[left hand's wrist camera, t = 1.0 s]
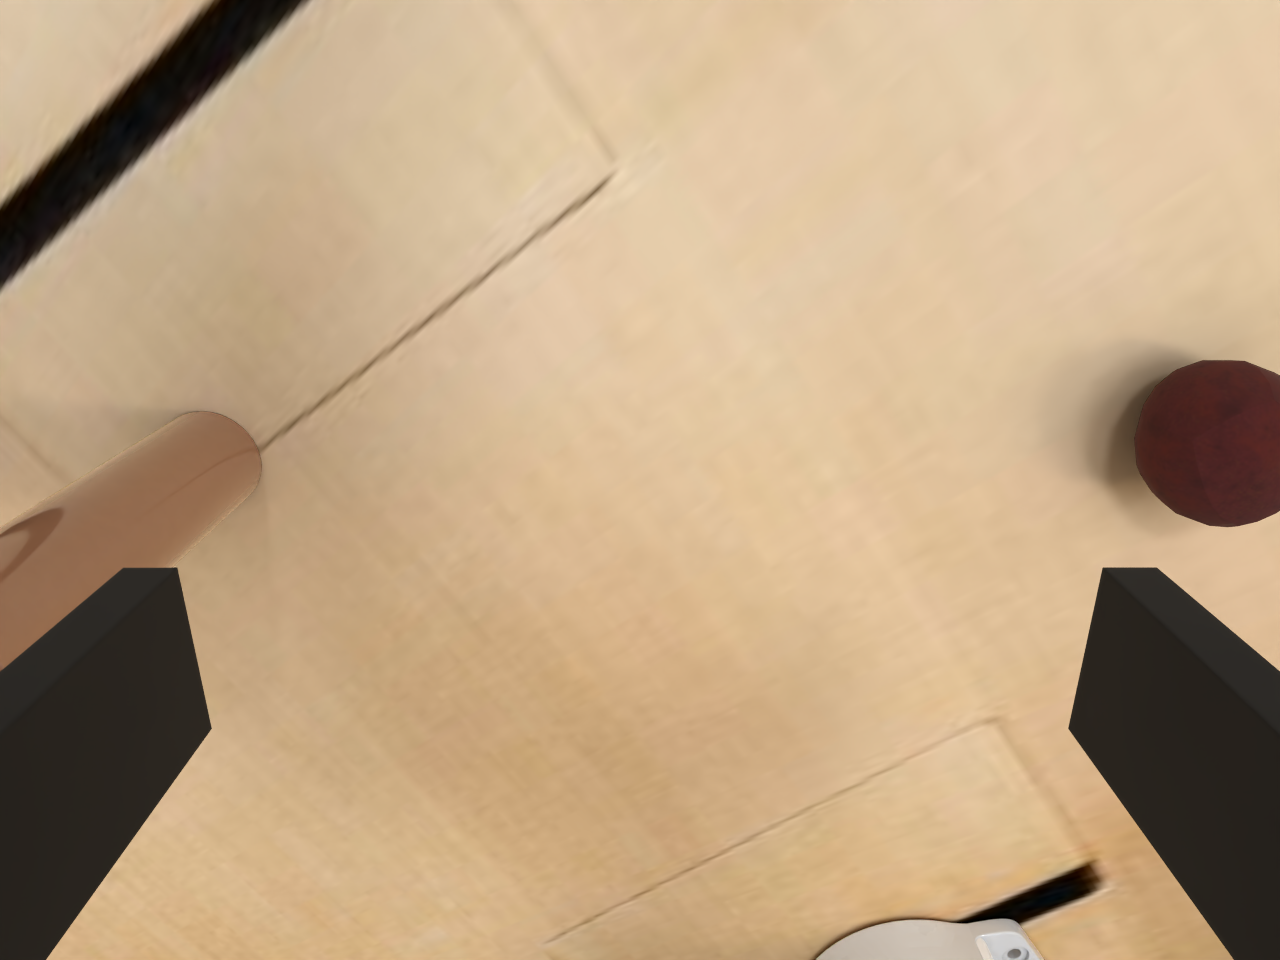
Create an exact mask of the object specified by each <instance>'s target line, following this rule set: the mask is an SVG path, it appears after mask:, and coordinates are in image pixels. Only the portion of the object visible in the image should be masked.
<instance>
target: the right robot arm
mask: <svg viewBox="0 0 1280 960" xmlns="http://www.w3.org/2000/svg"><path fill="white" fill-rule="evenodd" d="M816 960H1045V959H1044V958H1043V957H1042V955H1041V954H1040V952H1039V951H1038V950H1037V948H1036V947H1035V946H1034V944H1033V943H1032V941H1031V940H1030V939H1029V937H1028V936H1027V934H1026V933H1025V932H1024V930H1023V929H1022V928H1021V926H1020V925H1019V924H1018V923H1017V922H1015V921H1013V920H1011V919H992V920H985V921H978V922H973V923H968V924H959V923H949V922H942V921H934V920H901V921H894V922H888V923H883V924H879V925H875V926H872V927H868V928H866V929H863V930H860V931H858V932H855V933H853V934H851V935H849V936H847V937H845V938H843V939H842V940H840V941H838V942H837V943H835V944H834V945H832V946H831V947H829V948H828V949H827V950H825V951H824V952H823V953H822V954H821V955H820V956H819V957H818V958H817V959H816Z"/></svg>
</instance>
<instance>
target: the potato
mask: <svg viewBox="0 0 1280 960" xmlns="http://www.w3.org/2000/svg"><path fill="white" fill-rule="evenodd" d="M1134 441H1135V452H1136V463H1137V467H1138V469H1139V472H1140V474H1141V476H1142V477H1143V479H1144V481H1145V482H1146V484H1147V485H1148V487H1149V488H1150V490H1151V491H1152V492H1153V493H1154V494H1155V495H1156V496H1157V497H1158V498H1159V499H1160V500H1161V501H1162V502H1163V503H1164V504H1165V505H1167V506H1168V507H1169V508H1170V509H1171V510H1173V511H1174V512H1175V513H1177V514H1179V515H1182V516H1185V517H1187V518H1190V519H1193V520H1195V521H1198V522H1201V523H1203V524H1206V525H1209V526H1220V527H1234V526H1241V525H1245V524H1249V523H1253V522H1257V521H1260V520H1262V519H1264V518H1266V517H1269V516H1271V515H1273V514H1275V513H1277V512H1279V511H1280V375H1278V374H1276V373H1274V372H1271V371H1269V370H1266V369H1264V368H1261V367H1259V366H1256V365H1254V364H1251V363H1248V362H1246V361H1233V360H1202V361H1199V362H1197V363H1194V364H1191V365H1188V366H1185V367H1182V368H1180V369H1177V370H1175V371H1174V372H1172V373H1171V374H1170V375H1169V376H1167V377H1166V378H1165V379H1164V380H1163V381H1161V382H1160V383H1159V384H1158V385H1157V386H1155V388H1154V389H1153V391H1152V393H1151V394H1150V396H1149V397H1148V399H1147V400H1146V402H1145V403H1144V405H1143V409H1142V412H1141V416H1140V419H1139V423H1138V427H1137V430H1136V434H1135V438H1134Z"/></svg>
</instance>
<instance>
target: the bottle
mask: <svg viewBox="0 0 1280 960" xmlns="http://www.w3.org/2000/svg"><path fill="white" fill-rule="evenodd" d="M260 476H261V458H260V454H259V451H258V449H257V446H256V445H255V443H254V441H253V439H252V438H251V437H250V435H249V434H248V433H247V432H246V431H245V430H244V429H243V428H242V427H241V426H240V425H238V424H237V423H236V422H234V421H232V420H231V419H229V418H227V417H225V416H222V415H219V414H216V413H211V412H191V413H187V414H184V415H181V416H179V417H178V418H176V419H174V420H173V421H171V422H169V423H168V424H166V425H165V426H163V427H161V428H160V429H158V430H156V431H155V432H153V433H152V434H150V435H148V436H147V437H145V438H144V439H142V440H140V441H139V442H137V443H135V444H134V445H132V446H131V447H129V448H127V449H126V450H124V451H123V452H121V453H119V454H118V455H116V456H114V457H113V458H111V459H110V460H108V461H106V462H105V463H103V464H102V465H100V466H98V467H97V468H95V469H93V470H92V471H90V472H89V473H87V474H85V475H84V476H82V477H81V478H79V479H77V480H76V481H74V482H72V483H71V484H69V485H68V486H66V487H64V488H63V489H61V490H60V491H58V492H56V493H55V494H53V495H51V496H50V497H48V498H47V499H45V500H43V501H42V502H40V503H39V504H37V505H35V506H34V507H32V508H30V509H29V510H27V511H26V512H24V513H22V514H21V515H19V516H18V517H16V518H14V519H13V520H11V521H9V522H8V523H6V524H5V525H3V526H1V527H0V671H1V670H3V669H4V668H5V667H6V666H7V665H9V664H10V663H11V662H12V661H13V660H14V659H16V658H17V657H18V656H19V655H20V654H22V653H23V652H24V651H25V650H26V649H27V648H29V647H30V646H31V645H32V644H33V643H35V642H36V641H37V640H38V639H39V638H41V637H42V636H43V635H44V634H45V633H46V632H48V631H49V630H50V629H51V628H52V627H54V626H55V625H56V624H57V623H58V622H59V621H61V620H62V619H63V618H64V617H65V616H67V615H68V614H69V613H70V612H71V611H72V610H74V609H75V608H76V607H77V606H78V605H80V604H81V603H82V602H83V601H84V600H85V599H87V598H88V597H89V596H90V595H91V594H93V593H94V592H95V591H96V590H97V589H99V588H100V587H101V586H102V585H103V584H104V583H106V582H107V581H108V580H109V579H110V578H112V577H113V576H114V575H115V574H116V573H117V572H119V571H120V570H121V569H122V568H172V567H173V566H174V565H175V564H176V563H177V562H179V561H180V560H181V559H182V558H183V557H184V556H185V555H186V554H187V553H188V552H189V551H190V550H191V549H192V548H194V547H195V546H196V545H197V544H198V543H199V542H200V541H201V540H202V539H203V538H204V537H205V536H206V535H208V534H209V533H210V532H211V531H212V530H213V529H214V528H215V527H216V526H217V525H218V524H219V523H220V522H221V521H223V520H224V519H225V518H226V517H227V516H228V515H229V514H230V513H231V512H232V511H233V510H234V509H235V508H236V507H238V506H239V505H240V504H241V503H242V502H243V501H244V500H245V499H246V498H247V497H248V496H249V495H250V494H251V493H252V492H253V491H254V490H255V488H256V486H257V484H258V482H259V479H260Z"/></svg>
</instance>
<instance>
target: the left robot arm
mask: <svg viewBox="0 0 1280 960" xmlns="http://www.w3.org/2000/svg"><path fill="white" fill-rule="evenodd" d="M211 729H212V728H211V723H210V719H209V714H208V709H207V705H206V700H205V695H204V691H203V686H202V681H201V677H200V672H199V667H198V663H197V658H196V653H195V649H194V644H193V639H192V634H191V630H190V625H189V620H188V616H187V611H186V606H185V602H184V597H183V592H182V588H181V583H180V578H179V574H178V569H177V568H122V569H121V570H120V571H119V572H117V573H116V574H115V575H114V576H113V577H112V578H110V579H109V580H108V581H107V582H106V583H104V584H103V585H102V586H101V587H100V588H99V589H97V590H96V591H95V592H94V593H93V594H91V595H90V596H89V597H88V598H87V599H85V600H84V601H83V602H82V603H81V604H80V605H78V606H77V607H76V608H75V609H74V610H72V611H71V612H70V613H69V614H68V615H67V616H65V617H64V618H63V619H62V620H61V621H59V622H58V623H57V624H56V625H55V626H54V627H52V628H51V629H50V630H49V631H48V632H46V633H45V634H44V635H43V636H42V637H41V638H39V639H38V640H37V641H36V642H35V643H33V644H32V645H31V646H30V647H29V648H27V649H26V650H25V651H24V652H23V653H22V654H20V655H19V656H18V657H17V658H16V659H14V660H13V661H12V662H11V663H10V664H9V665H7V666H6V667H5V668H4V669H3V670H1V671H0V960H46V959H47V957H48V956H49V955H50V953H51V952H52V951H53V949H54V948H55V946H56V945H57V944H58V942H59V941H60V939H61V938H62V937H63V935H64V934H65V932H66V931H67V930H68V928H69V927H70V925H71V924H72V923H73V921H74V920H75V918H76V917H77V916H78V914H79V913H80V911H81V910H82V909H83V907H84V906H85V904H86V903H87V902H88V900H89V899H90V898H91V896H92V895H93V893H94V892H95V891H96V889H97V888H98V886H99V885H100V884H101V882H102V881H103V879H104V878H105V877H106V875H107V874H108V872H109V871H110V870H111V868H112V867H113V865H114V864H115V863H116V861H117V860H118V858H119V857H120V856H121V854H122V853H123V852H124V850H125V849H126V847H127V846H128V845H129V843H130V842H131V840H132V839H133V838H134V836H135V835H136V833H137V832H138V831H139V829H140V828H141V826H142V825H143V824H144V822H145V821H146V819H147V818H148V817H149V815H150V814H151V812H152V811H153V810H154V808H155V807H156V805H157V804H158V803H159V801H160V800H161V799H162V797H163V796H164V794H165V793H166V792H167V790H168V789H169V787H170V786H171V785H172V783H173V782H174V780H175V779H176V778H177V776H178V775H179V773H180V772H181V771H182V769H183V768H184V766H185V765H186V764H187V762H188V761H189V759H190V758H191V757H192V755H193V754H194V752H195V751H196V750H197V748H198V747H199V746H200V744H201V743H202V741H203V740H204V739H205V737H206V736H207V734H208V733H209V732H210V730H211ZM1068 729H1069V730H1070V732H1071V733H1072V734H1073V736H1074V737H1075V739H1076V740H1077V741H1078V743H1079V744H1080V746H1081V747H1082V748H1083V750H1084V751H1085V752H1086V754H1087V755H1088V757H1089V758H1090V759H1091V761H1092V762H1093V764H1094V765H1095V766H1096V768H1097V769H1098V771H1099V772H1100V773H1101V775H1102V776H1103V778H1104V779H1105V780H1106V782H1107V783H1108V785H1109V786H1110V787H1111V789H1112V790H1113V792H1114V793H1115V794H1116V796H1117V797H1118V799H1119V800H1120V801H1121V803H1122V804H1123V805H1124V807H1125V808H1126V810H1127V811H1128V812H1129V814H1130V815H1131V817H1132V818H1133V819H1134V821H1135V822H1136V824H1137V825H1138V826H1139V828H1140V829H1141V831H1142V832H1143V833H1144V835H1145V836H1146V838H1147V839H1148V840H1149V842H1150V843H1151V845H1152V846H1153V847H1154V849H1155V850H1156V852H1157V853H1158V854H1159V856H1160V857H1161V858H1162V860H1163V861H1164V863H1165V864H1166V865H1167V867H1168V868H1169V870H1170V871H1171V872H1172V874H1173V875H1174V877H1175V878H1176V879H1177V881H1178V882H1179V884H1180V885H1181V886H1182V888H1183V889H1184V891H1185V892H1186V893H1187V895H1188V896H1189V898H1190V899H1191V900H1192V902H1193V903H1194V904H1195V906H1196V907H1197V909H1198V910H1199V911H1200V913H1201V914H1202V916H1203V917H1204V918H1205V920H1206V921H1207V923H1208V924H1209V925H1210V927H1211V928H1212V930H1213V931H1214V932H1215V934H1216V935H1217V937H1218V938H1219V939H1220V941H1221V942H1222V944H1223V945H1224V946H1225V948H1226V949H1227V951H1228V952H1229V953H1230V955H1231V956H1232V957H1233V959H1234V960H1280V671H1279V670H1277V669H1276V668H1275V667H1274V666H1273V665H1271V664H1270V663H1269V662H1268V661H1267V660H1266V659H1264V658H1263V657H1262V656H1261V655H1260V654H1258V653H1257V652H1256V651H1255V650H1254V649H1253V648H1251V647H1250V646H1249V645H1248V644H1247V643H1245V642H1244V641H1243V640H1242V639H1241V638H1239V637H1238V636H1237V635H1236V634H1235V633H1234V632H1232V631H1231V630H1230V629H1229V628H1228V627H1226V626H1225V625H1224V624H1223V623H1222V622H1221V621H1219V620H1218V619H1217V618H1216V617H1215V616H1213V615H1212V614H1211V613H1210V612H1209V611H1208V610H1206V609H1205V608H1204V607H1203V606H1202V605H1200V604H1199V603H1198V602H1197V601H1196V600H1195V599H1193V598H1192V597H1191V596H1190V595H1189V594H1187V593H1186V592H1185V591H1184V590H1183V589H1181V588H1180V587H1179V586H1178V585H1177V584H1176V583H1174V582H1173V581H1172V580H1171V579H1170V578H1168V577H1167V576H1166V575H1165V574H1164V573H1163V572H1161V571H1160V570H1159V569H1158V568H1103V569H1102V574H1101V578H1100V583H1099V588H1098V592H1097V597H1096V602H1095V606H1094V611H1093V616H1092V620H1091V625H1090V630H1089V634H1088V639H1087V644H1086V648H1085V653H1084V658H1083V663H1082V667H1081V672H1080V677H1079V681H1078V686H1077V691H1076V695H1075V700H1074V705H1073V709H1072V714H1071V719H1070V723H1069V728H1068Z"/></svg>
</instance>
